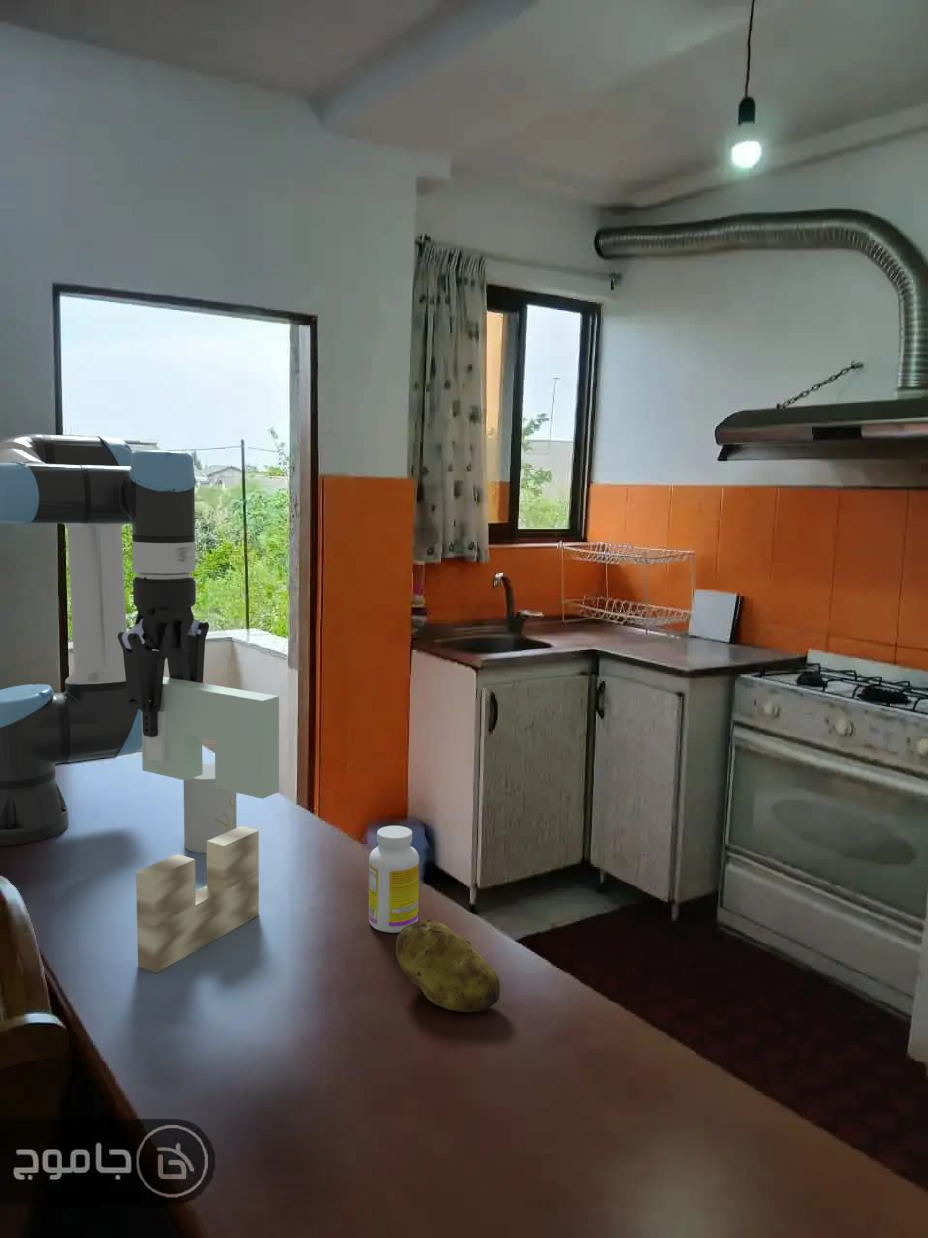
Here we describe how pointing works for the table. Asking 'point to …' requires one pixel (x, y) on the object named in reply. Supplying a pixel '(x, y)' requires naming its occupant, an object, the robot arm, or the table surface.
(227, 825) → the grey cylinder
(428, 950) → the potato
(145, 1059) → the table surface
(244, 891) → the notched wooden block
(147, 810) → the table surface
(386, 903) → the supplement bottle
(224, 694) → the sage slat
